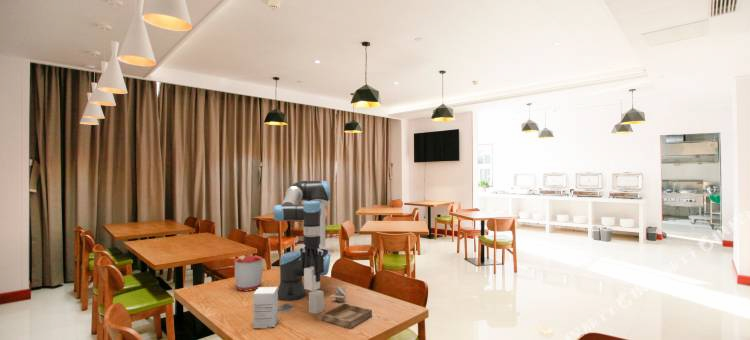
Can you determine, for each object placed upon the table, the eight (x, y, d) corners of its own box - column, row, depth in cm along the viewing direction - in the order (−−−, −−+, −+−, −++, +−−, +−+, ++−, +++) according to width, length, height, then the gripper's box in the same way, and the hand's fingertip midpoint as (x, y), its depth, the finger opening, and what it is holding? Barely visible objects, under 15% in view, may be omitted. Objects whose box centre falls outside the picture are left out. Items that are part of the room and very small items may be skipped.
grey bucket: (254, 281, 214) (254, 249, 215) (267, 288, 202) (267, 253, 202) (228, 287, 204) (228, 253, 204) (240, 294, 191) (240, 258, 191)
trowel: (267, 319, 158) (267, 314, 158) (258, 316, 161) (258, 311, 161) (294, 307, 171) (294, 303, 171) (285, 305, 174) (285, 301, 174)
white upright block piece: (308, 311, 166) (308, 292, 166) (316, 308, 170) (316, 289, 170) (316, 313, 163) (316, 294, 163) (323, 310, 167) (323, 291, 168)
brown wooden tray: (321, 320, 155) (321, 314, 155) (344, 309, 169) (344, 303, 169) (350, 329, 146) (350, 322, 146) (371, 316, 160) (371, 309, 160)
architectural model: (343, 304, 176) (343, 289, 176) (330, 303, 178) (330, 288, 178) (346, 302, 179) (345, 287, 180) (333, 300, 181) (333, 286, 182)
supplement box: (258, 320, 156) (257, 286, 157) (278, 319, 157) (278, 286, 157) (252, 329, 147) (252, 293, 148) (274, 328, 148) (274, 292, 148)
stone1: (304, 288, 156) (304, 268, 157) (312, 286, 160) (312, 266, 161) (311, 290, 153) (311, 270, 154) (320, 288, 157) (320, 267, 157)
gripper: (292, 234, 160) (292, 286, 159) (319, 238, 149) (320, 293, 148) (304, 233, 166) (304, 282, 165) (332, 236, 155) (332, 289, 154)
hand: (312, 287), depth 157 cm, fingers closed on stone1, 5 cm apart
